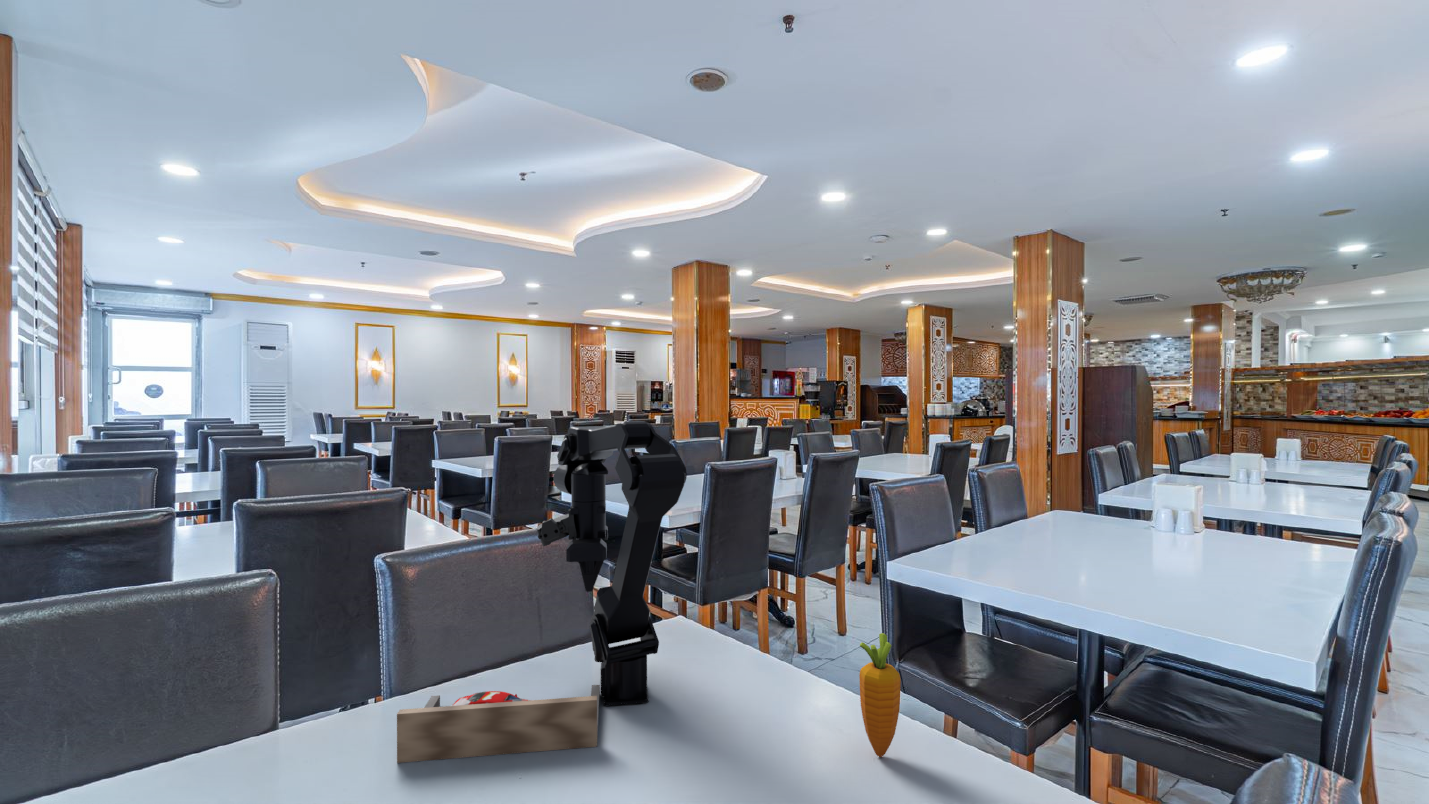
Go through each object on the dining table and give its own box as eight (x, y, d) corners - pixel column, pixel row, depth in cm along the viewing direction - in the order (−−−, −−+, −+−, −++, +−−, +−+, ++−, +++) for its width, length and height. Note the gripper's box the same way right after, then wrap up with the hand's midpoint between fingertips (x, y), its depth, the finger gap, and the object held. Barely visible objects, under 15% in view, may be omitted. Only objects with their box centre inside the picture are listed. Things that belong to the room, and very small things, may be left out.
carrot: (878, 772, 77) (878, 646, 77) (851, 752, 82) (850, 633, 82) (909, 761, 80) (909, 639, 80) (881, 742, 84) (881, 627, 84)
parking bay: (599, 694, 98) (599, 654, 98) (596, 746, 83) (596, 699, 83) (431, 706, 95) (431, 665, 95) (397, 763, 80) (396, 714, 80)
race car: (551, 717, 92) (551, 689, 92) (537, 737, 87) (537, 707, 87) (461, 712, 93) (461, 685, 93) (442, 732, 88) (442, 702, 88)
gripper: (545, 493, 119) (546, 578, 119) (532, 510, 100) (533, 611, 100) (607, 491, 120) (608, 575, 120) (606, 508, 102) (606, 607, 102)
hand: (589, 591), depth 111 cm, fingers closed
